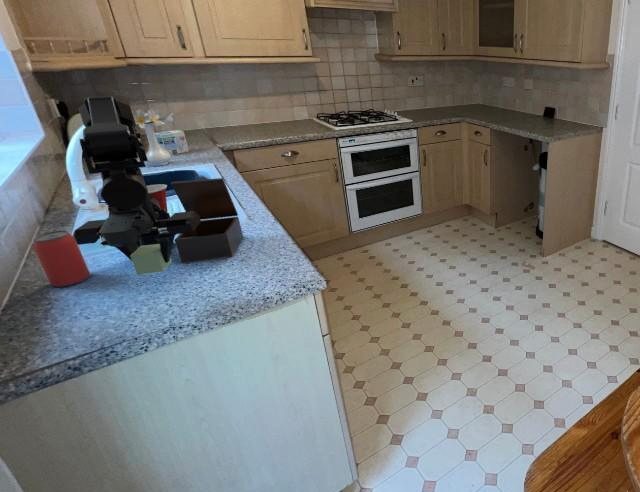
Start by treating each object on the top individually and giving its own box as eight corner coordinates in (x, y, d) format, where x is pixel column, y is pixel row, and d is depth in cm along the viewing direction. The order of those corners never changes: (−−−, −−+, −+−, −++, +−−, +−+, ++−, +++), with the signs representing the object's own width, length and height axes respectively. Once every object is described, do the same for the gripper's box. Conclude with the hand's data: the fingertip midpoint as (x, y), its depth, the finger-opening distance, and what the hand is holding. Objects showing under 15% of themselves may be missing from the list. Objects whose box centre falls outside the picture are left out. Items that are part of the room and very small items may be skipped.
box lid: (222, 179, 108) (225, 168, 111) (170, 183, 104) (175, 172, 108) (237, 215, 116) (240, 204, 120) (190, 220, 113) (194, 209, 116)
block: (137, 275, 82) (129, 255, 81) (146, 264, 86) (140, 245, 85) (163, 271, 84) (157, 252, 82) (172, 261, 88) (166, 242, 86)
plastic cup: (164, 215, 133) (153, 180, 129) (185, 220, 129) (174, 185, 125) (125, 227, 124) (111, 191, 119) (146, 234, 120) (132, 196, 116)
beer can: (56, 291, 92) (34, 244, 88) (47, 282, 95) (26, 236, 91) (95, 278, 97) (75, 233, 93) (85, 270, 101) (67, 226, 96)
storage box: (232, 256, 109) (226, 234, 106) (181, 263, 105) (174, 239, 102) (243, 237, 119) (238, 216, 117) (197, 242, 116) (191, 221, 113)
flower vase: (190, 162, 192) (175, 108, 183) (141, 170, 178) (121, 113, 169) (180, 157, 199) (165, 106, 190) (132, 165, 185) (113, 110, 176)
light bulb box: (167, 156, 201) (161, 134, 197) (158, 154, 204) (152, 133, 200) (190, 151, 211) (184, 130, 207) (181, 150, 213) (175, 129, 209)
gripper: (38, 214, 69) (73, 292, 75) (170, 203, 75) (193, 275, 81) (76, 193, 79) (105, 263, 84) (191, 185, 85) (210, 250, 91)
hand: (153, 263), depth 85 cm, fingers closed on block, 4 cm apart
